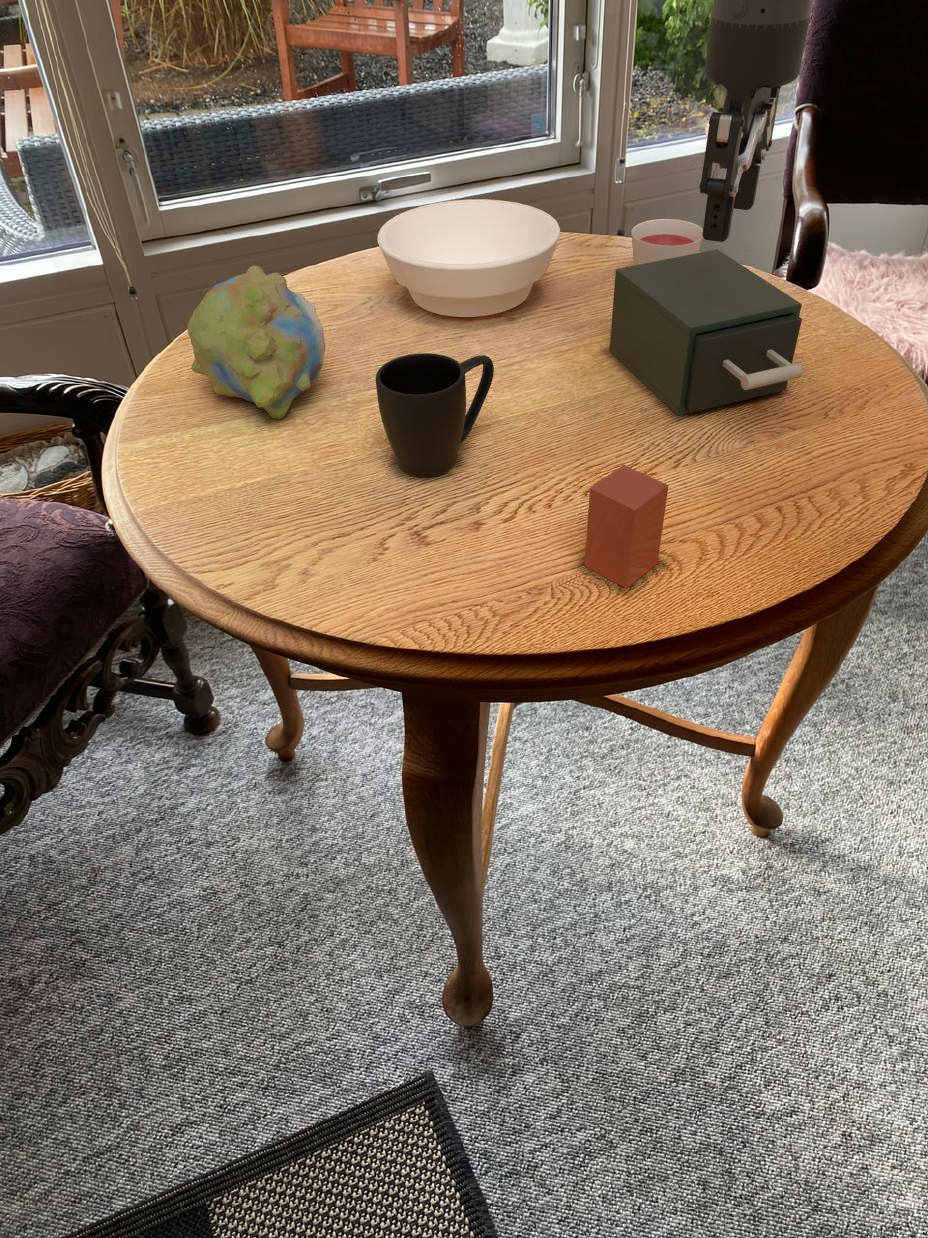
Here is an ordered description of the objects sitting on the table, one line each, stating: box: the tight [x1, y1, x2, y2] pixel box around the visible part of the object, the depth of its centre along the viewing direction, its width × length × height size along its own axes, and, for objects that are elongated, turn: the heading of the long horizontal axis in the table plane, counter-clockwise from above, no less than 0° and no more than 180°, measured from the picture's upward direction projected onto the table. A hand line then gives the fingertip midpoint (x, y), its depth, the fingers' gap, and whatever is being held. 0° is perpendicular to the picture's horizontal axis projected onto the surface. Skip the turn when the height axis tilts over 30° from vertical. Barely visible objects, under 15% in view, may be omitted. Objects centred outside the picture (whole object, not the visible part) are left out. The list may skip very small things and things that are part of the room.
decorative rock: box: [186, 264, 327, 419], centre depth 93 cm, size 14×16×15 cm
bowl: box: [377, 198, 561, 318], centre depth 112 cm, size 22×22×8 cm
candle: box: [630, 218, 704, 266], centre depth 114 cm, size 9×9×6 cm
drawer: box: [684, 314, 804, 413], centre depth 93 cm, size 19×11×8 cm, turn 20°
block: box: [583, 464, 669, 589], centre depth 73 cm, size 4×4×8 cm
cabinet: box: [608, 248, 803, 417], centre depth 96 cm, size 16×13×10 cm
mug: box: [375, 352, 495, 479], centre depth 85 cm, size 8×12×10 cm
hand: (728, 223), depth 81 cm, fingers open, 8 cm apart
